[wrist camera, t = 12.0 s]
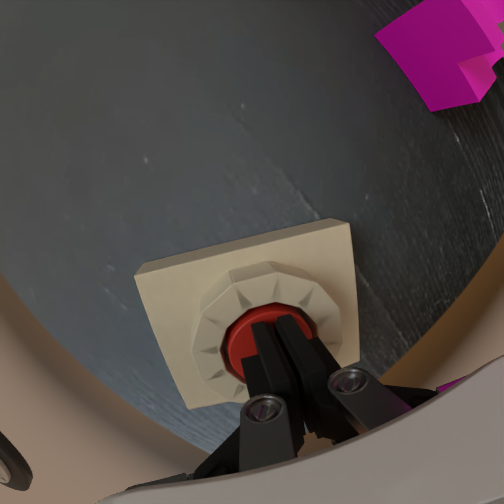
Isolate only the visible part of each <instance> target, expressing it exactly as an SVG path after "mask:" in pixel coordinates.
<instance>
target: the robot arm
mask: <svg viewBox="0 0 504 504" xmlns="http://www.w3.org/2000/svg"><path fill="white" fill-rule="evenodd" d="M250 325H251V329H252V333H253V337H254V341H255V345H256V349H257V353H258V354H256V355H253V356H249V357H245V358H241V364H242V368H243V373H244V377H245V381H246V385H247V389H248V393H249V398H250V399H249V400H248V401H246V402H245V403H244V405H243V406H242V408H241V412H240V426H239V427H238V428H237V429H236V430H235V431H234V432H233V433H232V434H231V435H230V436H229V437H228V438H227V439H226V440H225V441H224V442H223V443H222V444H221V445H220V446H219V447H218V448H217V449H216V450H215V451H214V452H213V453H212V454H211V455H210V456H209V457H208V458H207V459H206V460H205V461H204V462H203V463H202V464H201V465H200V466H199V467H198V468H197V469H196V470H195V472H194V473H192V474H189V475H186V473H182V474H179V475H175V476H171V477H168V478H164V479H160V480H156V481H151V482H147V483H143V484H138V485H134V486H131V487H128V488H127V489H126V490H125V491H123V492H120V493H116V494H113V495H110V496H108V497H106V498H104V499H102V500H100V501H99V502H97V503H96V504H504V355H502V356H500V357H498V358H496V359H494V360H492V361H490V362H488V363H487V364H485V365H483V366H481V367H480V368H478V369H477V370H475V371H474V372H472V373H471V374H469V375H467V376H464V377H462V378H460V379H457V380H455V381H452V382H450V383H447V384H444V385H442V386H439V387H437V388H436V391H432V390H429V389H421V388H409V387H399V386H389V385H383V384H382V383H380V382H379V381H378V380H377V379H376V378H374V377H373V376H372V375H371V374H369V373H368V372H367V371H365V370H363V369H361V368H357V367H348V368H343V369H342V368H341V366H340V365H339V364H338V362H337V361H336V360H335V358H334V357H333V356H332V354H331V353H330V352H329V350H328V349H327V348H326V346H325V345H324V344H323V342H322V341H321V340H320V338H319V337H315V338H312V339H307V337H306V336H305V334H304V333H303V331H302V330H301V328H300V327H299V325H298V324H297V322H296V321H295V319H294V318H293V317H292V315H291V314H286V315H283V316H279V317H277V321H274V322H273V325H274V330H275V333H274V331H273V329H272V327H271V325H270V323H267V324H265V323H264V321H261V322H257V323H253V324H250ZM303 420H304V421H303ZM304 422H305V424H306V427H307V429H308V431H309V433H312V432H315V434H316V436H317V438H318V439H319V438H322V437H324V438H328V439H331V442H332V444H333V446H331V447H328V448H326V449H323V450H320V451H317V452H314V453H311V454H308V455H304V456H301V457H298V456H297V453H298V451H299V450H300V448H301V447H302V445H303V444H304V437H303V435H306V433H305V427H304ZM10 478H11V474H10V472H9V470H8V468H7V467H6V465H5V464H4V463H3V461H2V460H1V459H0V482H2V483H8V482H9V480H10Z"/></svg>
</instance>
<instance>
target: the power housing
mask: <svg viewBox="0 0 504 504" xmlns="http://www.w3.org/2000/svg"><path fill="white" fill-rule="evenodd" d="M134 278H135V281H136V284H137V287H138V290H139V293H140V296H141V299H142V302H143V304H144V307H145V310H146V313H147V315H148V318H149V321H150V323H151V326H152V329H153V331H154V334H155V336H156V339H157V341H158V344H159V346H160V349H161V351H162V354H163V356H164V358H165V361H166V363H167V365H168V368H169V370H170V372H171V374H172V377H173V379H174V381H175V383H176V385H177V387H178V390H179V392H180V394H181V396H182V398H183V400H184V402H185V404H186V406H187V408H188V409H194V408H200V407H205V406H210V405H215V404H220V403H225V402H229V401H231V402H238V403H245V402H246V401H248V400H249V399H250V398H249V393H248V389H247V385H246V381H245V378H243V377H242V376H240V375H239V374H238V373H237V372H236V371H235V370H234V368H233V367H232V365H231V363H230V360H229V355H228V349H227V343H226V337H225V333H226V330H227V327H229V326H230V325H231V324H232V323H233V322H234V321H235V320H236V319H238V318H239V317H240V316H241V315H242V314H243V313H244V312H246V311H247V310H248V309H250V308H254V307H258V306H262V305H265V304H269V303H273V302H278V303H283V304H287V305H291V306H294V308H295V309H296V310H297V311H298V313H299V314H300V315H301V317H302V318H303V319H304V321H305V322H306V323H307V325H308V326H309V328H310V330H311V333H312V337H313V338H315V337H319V338H320V340H321V341H322V342H323V344H324V345H325V346H326V348H327V349H328V350H329V352H330V353H331V354H332V356H333V357H334V358H335V360H336V361H337V362H338V364H339V365H340V366H341V368H343V367H345V366H348V365H350V364H353V363H355V362H358V361H360V349H359V322H358V305H357V291H356V279H355V268H354V258H353V249H352V241H351V233H350V225H349V223H346V222H343V221H339V220H336V219H332V218H328V219H323V220H319V221H315V222H310V223H306V224H302V225H297V226H293V227H289V228H285V229H280V230H276V231H272V232H268V233H263V234H259V235H255V236H251V237H247V238H243V239H239V240H234V241H230V242H226V243H222V244H218V245H214V246H210V247H206V248H202V249H198V250H194V251H190V252H186V253H182V254H178V255H174V256H170V257H166V258H162V259H158V260H154V261H150V262H146V263H143V265H142V266H141V267H140V269H139V270H138V271H137V273H136V274H135V275H134Z"/></svg>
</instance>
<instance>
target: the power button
mask: <svg viewBox="0 0 504 504" xmlns="http://www.w3.org/2000/svg"><path fill="white" fill-rule="evenodd" d="M286 314H291V315H292V317H293V318H294V319H295V321H296V322H297V324H298V325H299V327H300V328H301V330H302V331H303V333H304V334H305V336H306V337H307V339H312V338H313V337H312V333H311V330H310V328H309V326H308V325H307V323H306V322H305V321H304V319H303V318H302V317H301V315H300V314H299V313H298V311H297V310H296V309H295V308H294V306H291V305H287V304H283V303H278V302H273V303H269V304H265V305H262V306H258V307H254V308H250V309H248V310H247V311H246V312H244V313H243V314H242V315H241V316H240V317H239V318H238V319H236V320H235V321H234V322H233V323H232V324H231V325H230V326H229V327H227V330H226V333H225V337H226V343H227V349H228V355H229V360H230V363H231V365H232V367H233V368H234V370H235V371H236V372H237V373H238V374H239V375H240V376H242V377H243V378H245V377H244V373H243V368H242V364H241V358H245V357H249V356H253V355H256V354H258V353H257V349H256V345H255V341H254V337H253V333H252V329H251V325H250V324H253V323H257V322H261V321H264V323H265V324H267V323H270V325H271V327H272V329H273V331H274V333H275V330H274V325H273V322H274V321H277V317H279V316H283V315H286Z"/></svg>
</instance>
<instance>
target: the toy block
mask: <svg viewBox="0 0 504 504" xmlns="http://www.w3.org/2000/svg"><path fill="white" fill-rule="evenodd" d="M502 21H504V0H425V1H423V2H421V3H420V4H418V5H417V6H415V7H414V8H412V9H411V10H409V11H408V12H406V13H405V14H403V15H402V16H400V17H399V18H397V19H396V20H394V21H393V22H392V23H390V24H389V25H387V26H386V27H385V28H383V29H382V30H380V31H379V32H378V33H376V34H375V35H374V36H375V37H376V38H377V39H378V41H379V42H380V43H381V44H382V45H383V46H384V48H385V49H386V50H387V51H388V53H389V54H390V55H391V56H392V58H393V59H394V60H395V61H396V63H397V64H398V65H399V67H400V68H401V69H402V70H403V72H404V73H405V75H406V76H407V77H408V79H409V80H410V81H411V83H412V84H413V86H414V87H415V89H416V90H417V92H418V93H419V95H420V96H421V98H422V99H423V101H424V102H425V104H426V105H427V107H428V109H429V110H430V112H433V111H437V110H442V109H446V108H451V107H456V106H461V105H466V104H471V103H476V102H480V100H481V99H482V98H483V96H484V95H485V94H486V92H487V91H488V89H489V88H490V87H491V85H492V84H493V82H494V81H495V79H496V78H497V77H496V75H495V73H494V72H493V70H492V66H493V65H494V63H495V62H496V61H497V60H499V59H500V58H501V57H503V56H504V52H503V50H502V48H501V46H500V45H501V44H502V43H503V41H504V35H503V34H502V32H501V31H500V29H499V28H498V26H497V24H498V23H500V22H502Z"/></svg>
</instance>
